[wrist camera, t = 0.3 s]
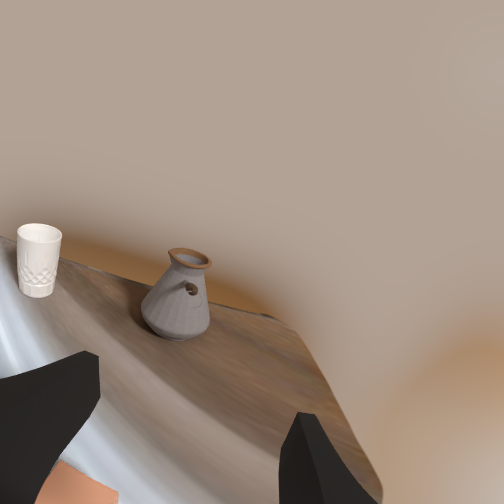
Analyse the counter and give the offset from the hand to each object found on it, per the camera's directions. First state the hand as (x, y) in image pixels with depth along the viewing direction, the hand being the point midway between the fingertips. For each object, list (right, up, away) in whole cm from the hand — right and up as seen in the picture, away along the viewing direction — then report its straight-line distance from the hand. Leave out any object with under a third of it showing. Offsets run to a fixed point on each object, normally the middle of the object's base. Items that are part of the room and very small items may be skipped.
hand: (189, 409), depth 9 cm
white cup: (-34, -1, +33) cm, 47 cm away
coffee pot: (-10, -9, +35) cm, 38 cm away
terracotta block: (-12, -17, +5) cm, 21 cm away
